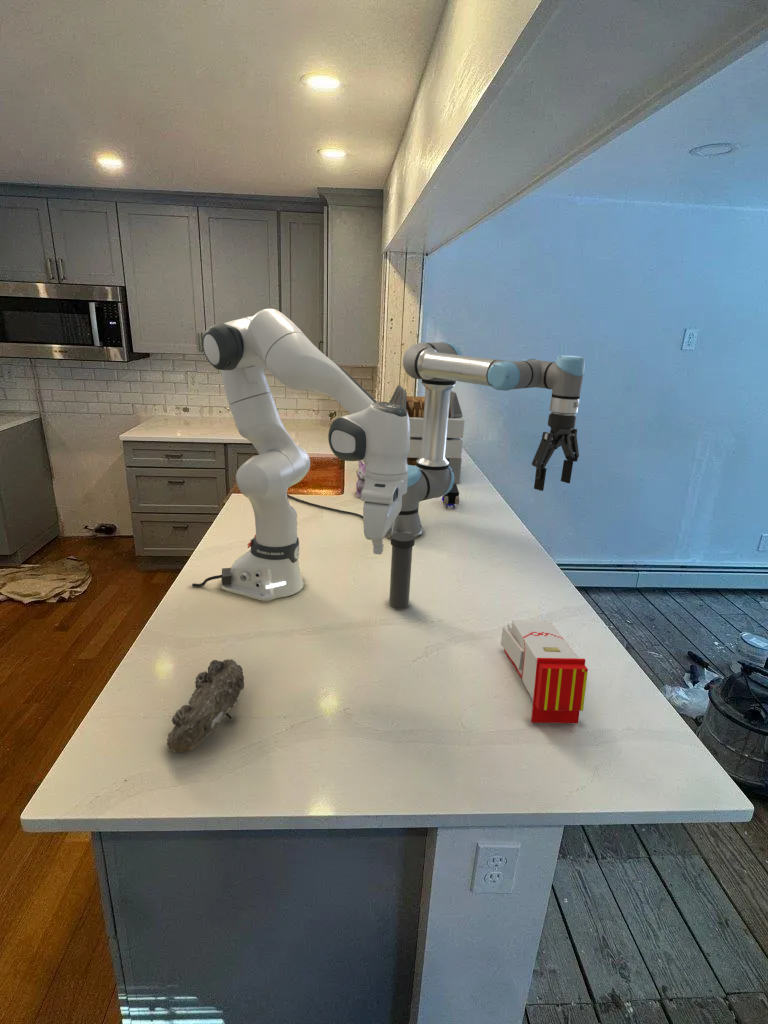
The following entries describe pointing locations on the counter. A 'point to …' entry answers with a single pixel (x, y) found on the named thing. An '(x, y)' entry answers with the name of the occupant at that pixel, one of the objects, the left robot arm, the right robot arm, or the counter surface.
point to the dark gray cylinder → (400, 577)
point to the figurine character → (451, 497)
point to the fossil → (206, 705)
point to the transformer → (416, 417)
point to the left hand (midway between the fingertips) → (383, 544)
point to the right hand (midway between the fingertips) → (552, 485)
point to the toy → (547, 670)
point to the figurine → (360, 478)
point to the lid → (402, 540)
